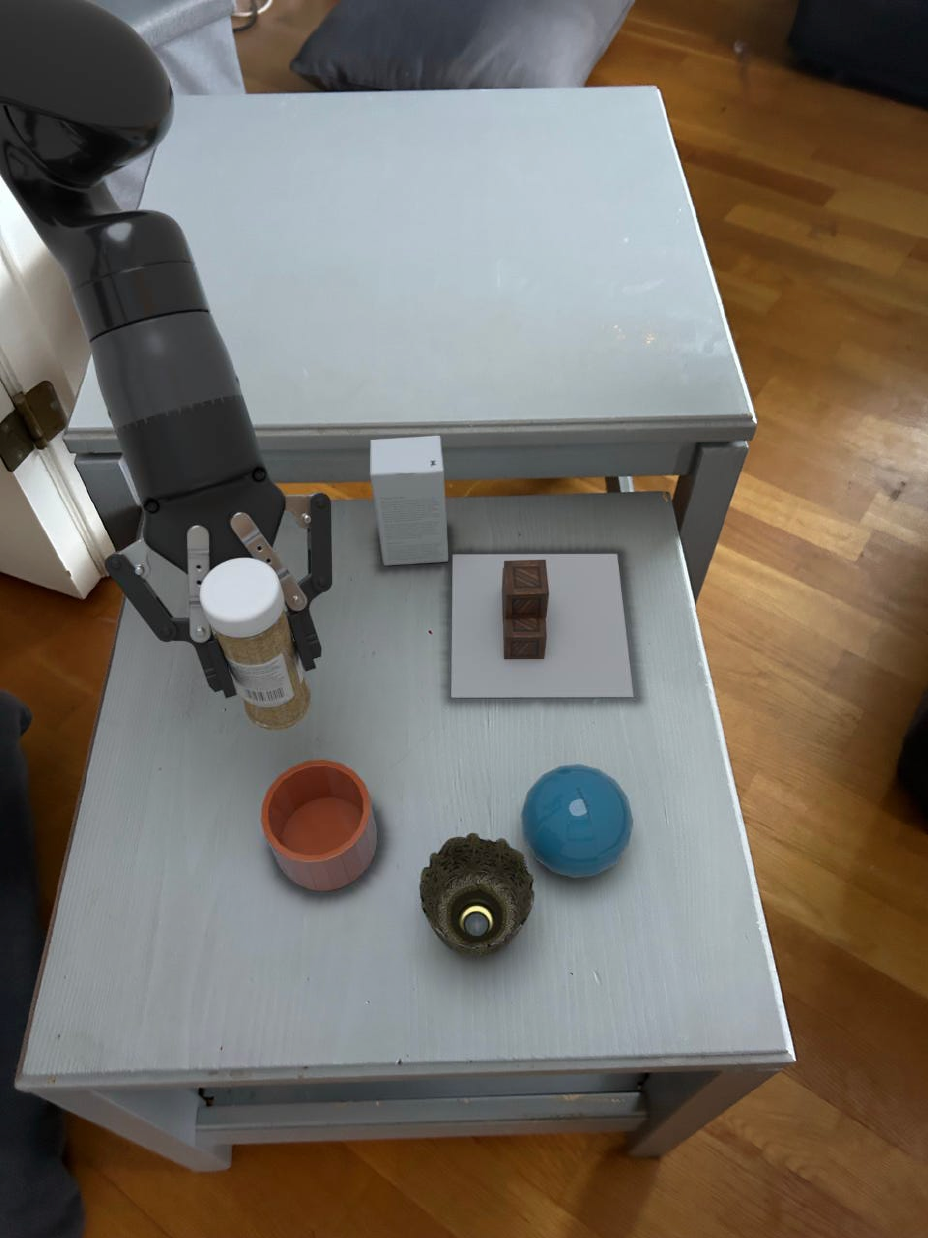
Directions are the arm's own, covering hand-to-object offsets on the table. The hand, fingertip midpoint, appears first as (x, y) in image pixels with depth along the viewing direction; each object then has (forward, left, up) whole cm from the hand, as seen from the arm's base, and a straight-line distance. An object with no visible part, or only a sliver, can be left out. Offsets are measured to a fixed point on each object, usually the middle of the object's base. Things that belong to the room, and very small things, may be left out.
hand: (270, 679), depth 58 cm
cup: (+8, -14, -18) cm, 24 cm away
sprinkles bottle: (0, +2, -6) cm, 7 cm away
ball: (+17, -11, -18) cm, 27 cm away
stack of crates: (+23, +8, -18) cm, 30 cm away
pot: (0, -4, -18) cm, 18 cm away
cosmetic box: (+16, +20, -18) cm, 31 cm away
